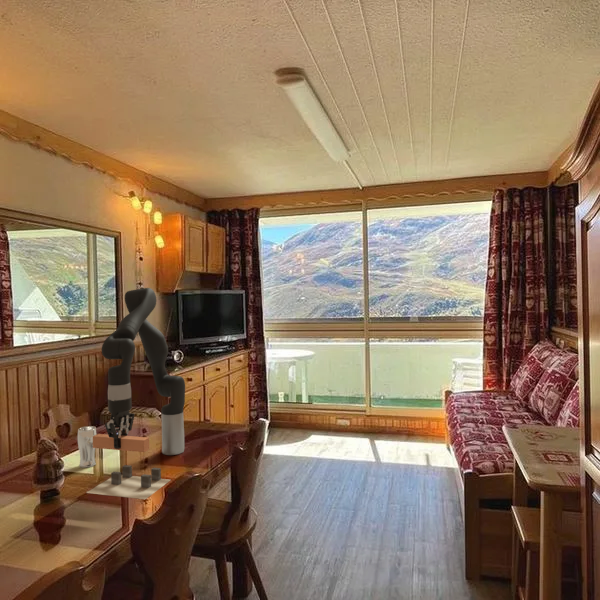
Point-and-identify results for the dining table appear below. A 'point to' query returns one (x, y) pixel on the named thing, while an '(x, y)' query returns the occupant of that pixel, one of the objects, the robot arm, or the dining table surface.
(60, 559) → the dining table surface
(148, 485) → the board
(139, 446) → the bar
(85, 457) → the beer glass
